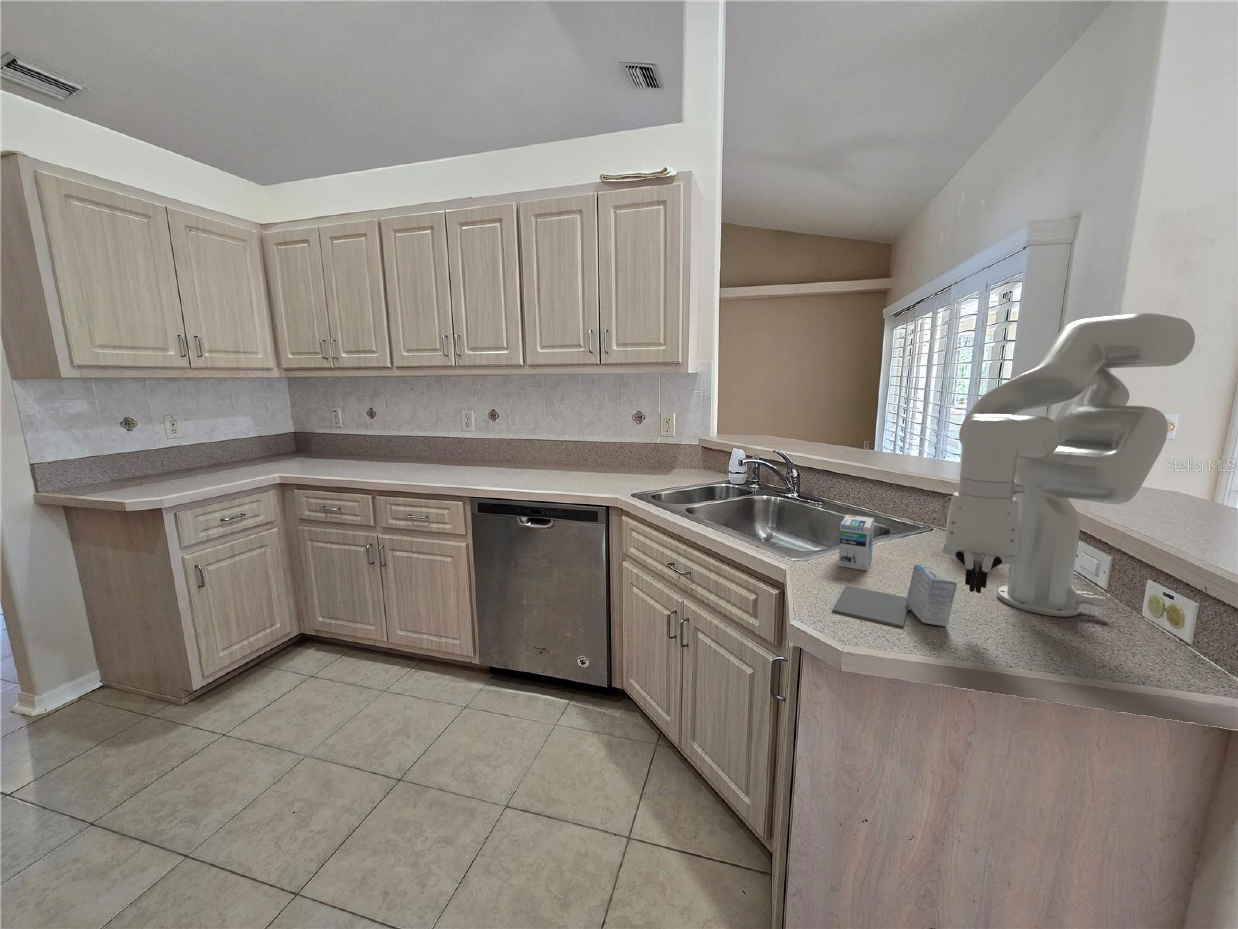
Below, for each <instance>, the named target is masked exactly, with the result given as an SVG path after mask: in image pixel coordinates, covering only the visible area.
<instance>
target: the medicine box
mask: <svg viewBox="0 0 1238 929" xmlns="http://www.w3.org/2000/svg"><path fill="white" fill-rule="evenodd" d="M957 586H958V582H956V581H955V580H954V579H953V578H951V576H949V575H948V574H947V573H946V572H944V571H943V570H941V569H940V568H939V567H937V566H936V567H935V566H930V565H925V564H924V565H923V564H914V567H913V570H912V575H911V578H910V584H909V587H908V591H907V596H906V597H907V600H906V605H907V606H908V609H909V610H910V611H912V613H913V614H914V615H915V616H916V617H917V618H918V620H919V621H921V623H923V624H928V625H934V626H940V627H944V628H945V627H948V625H949V619H950V615H951V612H952V608H953V604H954V599H955V595H956V591H957Z"/></svg>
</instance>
